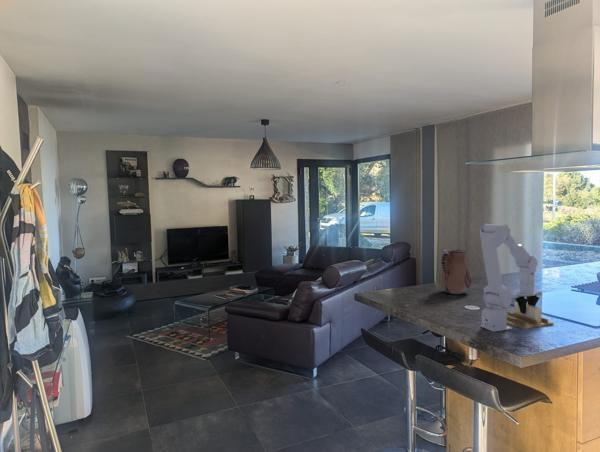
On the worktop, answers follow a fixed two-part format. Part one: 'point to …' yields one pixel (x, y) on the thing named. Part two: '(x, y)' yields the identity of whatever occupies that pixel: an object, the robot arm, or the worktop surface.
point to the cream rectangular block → (529, 312)
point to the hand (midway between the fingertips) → (526, 312)
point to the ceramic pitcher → (454, 272)
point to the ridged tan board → (525, 321)
